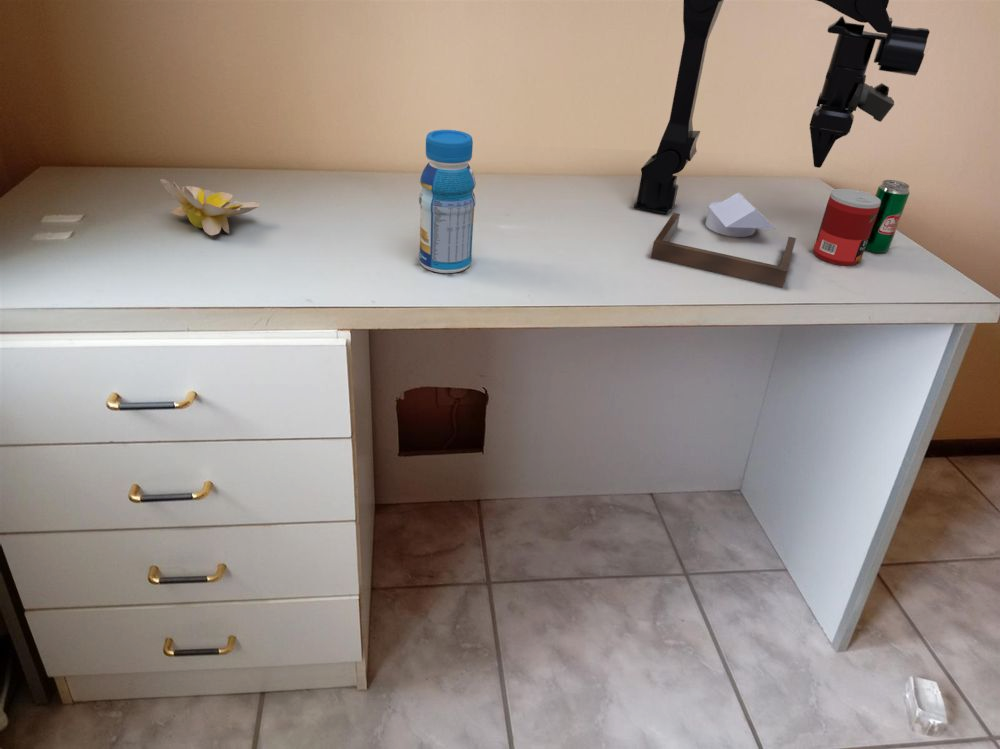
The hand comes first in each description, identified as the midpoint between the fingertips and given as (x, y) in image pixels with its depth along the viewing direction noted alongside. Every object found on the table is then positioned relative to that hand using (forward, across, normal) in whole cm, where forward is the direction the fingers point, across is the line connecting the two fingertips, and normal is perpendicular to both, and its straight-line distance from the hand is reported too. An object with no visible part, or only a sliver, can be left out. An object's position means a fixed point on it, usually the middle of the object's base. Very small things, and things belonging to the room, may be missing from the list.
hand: (819, 160), depth 135 cm
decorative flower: (+15, -52, +88) cm, 104 cm away
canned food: (+14, -6, -7) cm, 17 cm away
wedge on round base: (+14, -5, +11) cm, 18 cm away
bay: (+14, -17, +11) cm, 24 cm away
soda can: (+14, +2, -13) cm, 20 cm away
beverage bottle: (+15, -45, +50) cm, 68 cm away
